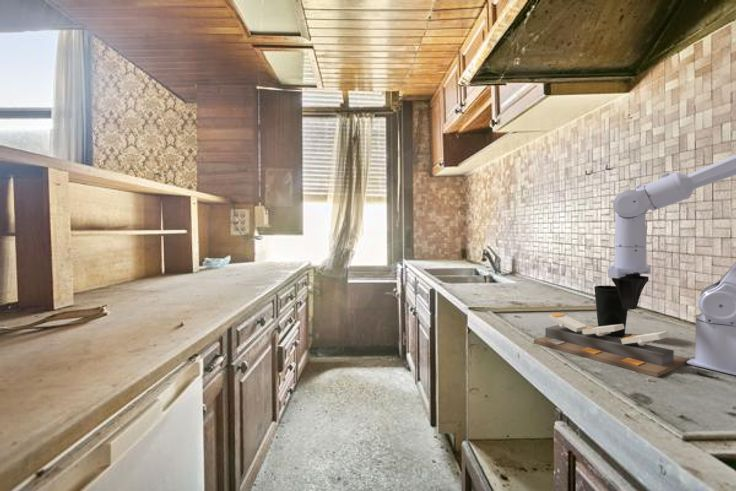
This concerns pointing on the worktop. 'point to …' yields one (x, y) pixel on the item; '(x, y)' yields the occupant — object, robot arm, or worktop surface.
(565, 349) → the switch board
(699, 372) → the worktop surface
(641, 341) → the switch
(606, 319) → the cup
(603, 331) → the switch
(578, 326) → the switch
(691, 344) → the worktop surface
